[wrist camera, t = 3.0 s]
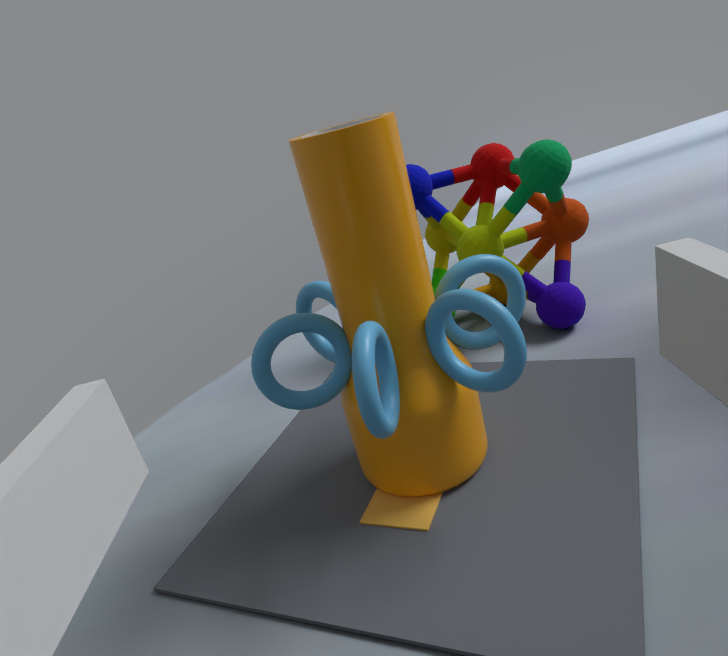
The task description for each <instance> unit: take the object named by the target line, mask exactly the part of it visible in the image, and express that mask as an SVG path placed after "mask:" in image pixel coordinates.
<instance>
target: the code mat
mask: <svg viewBox="0 0 728 656" xmlns="http://www.w3.org/2000/svg"><path fill="white" fill-rule="evenodd" d="M502 363H503V362H484V363H470V364H471V365H472V368H473V369H474V370H477V371H480V372H493V371H496V370H497V369H499V368H500V367H501V365H502ZM331 374H332V373H331ZM331 374H330V375H329V377H330V376H331ZM329 377H328V378H329ZM328 378H327V379H326V380H325V381H324V382H326V381H327V380H328ZM478 394H479V399H480V404H481V409H482V414H483V419H484V425H485V430H486V435H487V441H488V448H487V454H486V456H485V459H484V462H483V463H482V465H481V466H480V468H479V469H478V470H477V471H476V472H475V474H474V475H472V476H471V477H470V478H469V479H467V480H466V481H464V482H463V483H461V484H460V485H458V486H455V487H453V488H451V489H449V490H447V491H443V492H440V493H437V494H433V495H426V496H421V497H404V496H396V495H392V494H389V493H385V492H383V491H382V490H380V489H378V488H376V487H375V486H374V485H373V484H371V483H370V482H369V481H368V479H367V478H366V477H365V475H364V473H363V471H362V468H361V465H360V462H359V459H358V456H357V452H356V449H355V446H354V443H353V439H352V436H351V433H350V430H349V426H348V423H347V420H346V417H345V413H344V410H343V407H342V402H341V392H340V393H339V394H338V395H337V396H336V397H335V398H333V399H332V400H330V401H329V402H327V403H325V404H323V405H321V406H318V407H315V408H311V409H304V410H300V412H299V413H298V414H297V415H296V416H295V418H294V419H293V420H292V421H291V423H290V424H289V425H288V426H287V427H286V429H285V430H284V431H283V432H282V433H281V435H280V436H279V437H278V438H277V439H276V441H275V442H274V443H273V444H272V446H271V447H270V448H269V449H268V450H267V452H266V453H265V454H264V455H263V456H262V458H261V459H260V460H259V461H258V462H257V464H256V465H255V466H254V467H253V469H252V470H251V471H250V472H249V473H248V475H247V476H246V477H245V478H244V479H243V481H242V482H241V483H240V484H239V485H238V487H237V488H236V489H235V490H234V492H233V493H232V494H231V495H230V496H229V498H228V499H227V500H226V501H225V502H224V504H223V505H222V506H221V507H220V508H219V510H218V511H217V512H216V513H215V515H214V516H213V517H212V518H211V519H210V521H209V522H208V523H207V524H206V525H205V527H204V528H203V529H202V530H201V531H200V533H199V534H198V535H197V536H196V538H195V539H194V540H193V541H192V542H191V544H190V545H189V546H188V547H187V548H186V550H185V551H184V552H183V553H182V554H181V556H180V557H179V558H178V559H177V561H176V562H175V563H174V564H173V565H172V567H171V568H170V569H169V570H168V571H167V573H166V574H165V575H164V576H163V577H162V579H161V580H160V581H159V582H158V583H157V585H156V586H155V587H154V590H155V592H159V593H164V594H169V595H174V596H179V597H184V598H188V599H193V600H198V601H203V602H208V603H213V604H217V605H222V606H227V607H232V608H237V609H242V610H246V611H251V612H256V613H261V614H266V615H271V616H276V617H280V618H285V619H290V620H295V621H300V622H305V623H309V624H314V625H319V626H324V627H329V628H334V629H338V630H343V631H348V632H353V633H358V634H363V635H367V636H372V637H377V638H382V639H387V640H392V641H397V642H401V643H406V644H411V645H416V646H421V647H426V648H430V649H435V650H440V651H445V652H450V653H455V654H459V655H464V656H645V646H644V618H643V590H642V562H641V534H640V506H639V478H638V450H637V422H636V394H635V366H634V358H612V359H580V360H548V361H526V364H525V368H524V370H523V373H522V374H521V376H520V378H519V379H518V380H517V381H516V382H515V383H514V384H513V385H512V386H510V387H508V388H507V389H504V390H502V391H498V392H490V393H488V392H479V391H478Z"/></svg>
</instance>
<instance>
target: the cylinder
mask: <svg viewBox="0 0 728 656" xmlns="http://www.w3.org/2000/svg"><path fill="white" fill-rule="evenodd" d="M289 143H290V147H291V150H292V154H293V157H294V161H295V164H296V168H297V171H298V175H299V178H300V181H301V185H302V188H303V192H304V195H305V199H306V202H307V205H308V209H309V212H310V216H311V219H312V223H313V226H314V230H315V233H316V236H317V240H318V244H319V247H320V251H321V254H322V257H323V261H324V264H325V268H326V271H327V275H328V278H329V282H330V283H328V282H324V281H313V282H310V283H308V284H306V285H305V286H304V287H303V288H302V289H301V290H300V292H299V294H298V296H297V300H296V314H292V315H289V316H286V317H283V318H281V319H279V320H277V321H276V322H275V323H273V324H272V325H270V326H269V327H268V328H267V329H266V330H265V331H264V332H263V333H262V335H261V336H260V338H259V339H258V341H257V343H256V345H255V347H254V351H253V354H252V361H251V367H252V374H253V377H254V380H255V383H256V385H257V386H258V388H259V390H260V391H261V392H262V393H263V394H264V395H265V396H266V397H267V398H268V399H269V400H270V401H272V402H274V403H275V404H277V405H279V406H282V407H285V408H289V409H296V410H304V409H311V408H315V407H318V406H321V405H323V404H325V403H327V402H329V401H330V400H332V399H333V398H335V397H336V396H337V395H338V394H339V393H340V392H341V402H342V407H343V410H344V413H345V417H346V420H347V423H348V426H349V430H350V433H351V436H352V439H353V443H354V446H355V449H356V452H357V456H358V459H359V462H360V465H361V468H362V471H363V473H364V475H365V477H366V478H367V479H368V481H369V482H370V483H371V484H373V485H374V486H375V487H376V488H378V489H380V490H382V491H383V492H385V493H389V494H392V495H396V496H404V497H421V496H426V495H433V494H437V493H440V492H443V491H447V490H449V489H451V488H453V487H455V486H458V485H460V484H461V483H463V482H464V481H466V480H467V479H469V478H470V477H471V476H472V475H474V474H475V472H476V471H477V470H478V469H479V468H480V466H481V465H482V463H483V462H484V459H485V456H486V454H487V448H488V441H487V435H486V430H485V425H484V419H483V414H482V409H481V404H480V399H479V394H478V391H479V392H488V393H490V392H498V391H502V390H504V389H507V388H508V387H510V386H512V385H513V384H514V383H515V382H516V381H517V380H518V379H519V378H520V376H521V374H522V373H523V370H524V368H525V364H526V359H527V349H526V342H525V338H524V335H523V333H522V330H521V328H520V326H519V324H518V322H519V320H520V318H521V316H522V314H523V311H524V307H525V301H526V291H525V285H524V282H523V279H522V277H521V275H520V273H519V271H518V270H517V269H516V268H515V267H514V266H513V265H512V264H511V263H510V262H509V261H507V260H506V259H504V258H502V257H499V256H496V255H490V254H479V255H474V256H470V257H468V258H465V259H463V260H461V261H460V262H458V263H456V264H455V265H454V266H453V267H451V268H450V269H449V270H448V271H447V272H446V274H445V275H444V276H443V278H442V279H441V281H440V282H439V284H438V287H437V289H436V292H435V295H434V292H433V287H432V283H431V278H430V274H429V269H428V265H427V260H426V255H425V251H424V246H423V242H422V237H421V233H420V228H419V223H418V219H417V214H416V210H415V205H414V200H413V196H412V191H411V187H410V182H409V177H408V173H407V168H406V163H405V159H404V154H403V150H402V145H401V140H400V136H399V131H398V127H397V122H396V117H395V113H394V112H389V113H383V114H379V115H375V116H370V117H366V118H362V119H358V120H354V121H350V122H347V123H343V124H339V125H336V126H332V127H329V128H325V129H322V130H318V131H315V132H312V133H308V134H305V135H302V136H299V137H296V138H293V139H291V140H289ZM484 272H486V273H492V274H494V275H496V276H498V277H499V278H500V279H501V280H502V281H503V282H504V284H505V286H506V289H507V294H508V299H507V305H506V308H505V307H504V306H503V305H502V304H501V303H500V302H498V301H497V300H496V299H494V298H492V297H491V296H489V295H487V294H485V293H482V292H479V291H476V290H471V289H457V288H458V287H459V285H460V284H461V283H462V282H463V281H464V280H466V279H467V278H468V277H470V276H472V275H474V274H477V273H484ZM317 297H320V298H323V299H325V300H327V301H329V302H330V303H331V304H332V305H333V306H334V307H335V308H336V309H337V310H338V313H339V317H340V321H341V324H342V328H343V329H342V328H341V327H340V326H339V325H338V324H337V323H336V322H334V321H333V320H331V319H329V318H327V317H325V316H322V315H318V314H313V313H312V302H313V300H314V299H315V298H317ZM457 310H468V311H471V312H474V313H476V314H478V315H480V316H482V317H483V318H484V319H486V320H487V321H488V322H489V323H490V324H491V325H492V326H491V327H489V328H488V329H485V330H483V331H479V332H470V331H466V330H464V329H462V328H460V327H459V326H458V325H457V324H456V323H455V321H454V319H453V316H452V312H454V311H457ZM300 332H303V334H304V336H305V337H306V339H307V341H308V342H309V343H310V345H311V346H312V347H313V348H314V349H315V350H316V351H317V352H318V353H319V354H320V355H322V356H323V357H325V358H326V359H328V360H330V361H332V362H335V367H334V370H333V372H332V374H331V376H330V377H329V378H328V380H327V381H326V382H324V383H323V384H322V385H320V386H319V387H317V388H315V389H312V390H308V391H293V390H290V389H287V388H285V387H283V386H282V385H280V384H279V383H278V382H277V381H276V379H275V378H274V376H273V374H272V371H271V357H272V354H273V352H274V350H275V348H276V347H277V345H278V344H279V343H280V342H281V341H282V340H284V339H285V338H287V337H288V336H290V335H293V334H295V333H300ZM500 341H502V343H503V347H504V361H503V363H502V365H501V367H500V368H499V369H497V370H496V371H493V372H480V371H477V370H474V369H473V368H472V365H471V364H470V362H469V360H468V359H467V358H466V357H465V355H464V354H463V353H462V352H461V351H460V350H459V349H458V348H457V346H459V347H462V348H466V349H482V348H486V347H490V346H492V345H494V344H496V343H498V342H500Z"/></svg>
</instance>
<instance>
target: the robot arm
mask: <svg viewBox="0 0 728 656" xmlns="http://www.w3.org/2000/svg"><path fill="white" fill-rule="evenodd" d="M655 258H656V279H657V300H658V322H659V343H660V354H661V355H663V356H664V357H665V358H666V359H668V360H669V361H670V362H671V363H673V364H674V365H675V366H677V367H678V368H679V369H680V370H682V371H683V372H684V373H685V374H687V375H688V376H689V377H691V378H692V379H693V380H694V381H696V382H697V383H698V384H699V385H701V386H702V387H703V388H704V389H706V390H707V391H708V392H710V393H711V394H712V395H713V396H715V397H716V398H717V399H718V400H720V401H721V402H722V403H723V404H725V405H726V406H727V407H728V252H725V251H723V250H720V249H717V248H715V247H712V246H710V245H707V244H705V243H702V242H699V241H697V240H694V239H692V238H685V239H681V240H676V241H672V242H668V243H664V244H660V245H656V246H655ZM148 472H149V471H148V469H147V467H146V465H145V463H144V461H143V458H142V456H141V454H140V452H139V450H138V448H137V446H136V444H135V442H134V439H133V437H132V435H131V433H130V431H129V429H128V427H127V425H126V423H125V420H124V418H123V416H122V414H121V412H120V410H119V408H118V406H117V403H116V401H115V399H114V397H113V395H112V393H111V391H110V389H109V387H108V384H107V382H106V380H105V379H102V380H97V381H93V382H89V383H85V384H81V385H77V386H74V387H73V388H72V389H71V390H70V391H69V392H68V393H67V395H66V396H65V397H64V398H63V399H62V400H61V401H60V402H59V403H58V404H57V405H56V406H55V407H54V408H53V409H52V411H50V413H49V414H48V415H47V416H46V417H45V418H44V419H43V420H42V421H41V422H40V423H39V424H38V425H37V426H36V427H35V429H34V430H33V431H32V432H31V433H30V434H29V435H28V436H27V437H26V438H25V439H24V440H23V441H22V442H21V443H20V445H18V447H17V448H16V449H15V450H14V451H13V452H12V453H11V454H10V455H9V456H8V457H7V458H6V459H5V460H4V461H3V462H2V463H1V465H0V656H52V655H53V653H54V652H55V650H56V648H57V646H58V644H59V642H60V640H61V638H62V636H63V634H64V632H65V631H66V629H67V627H68V625H69V623H70V621H71V619H72V617H73V615H74V613H75V611H76V610H77V608H78V606H79V604H80V602H81V600H82V598H83V596H84V594H85V592H86V590H87V588H88V587H89V585H90V583H91V581H92V579H93V577H94V575H95V573H96V571H97V569H98V567H99V566H100V564H101V562H102V560H103V558H104V556H105V554H106V552H107V550H108V548H109V546H110V545H111V543H112V541H113V539H114V537H115V535H116V533H117V531H118V529H119V527H120V525H121V523H122V522H123V520H124V518H125V516H126V514H127V512H128V510H129V508H130V506H131V504H132V502H133V501H134V499H135V497H136V495H137V493H138V491H139V489H140V487H141V485H142V483H143V481H144V480H145V478H146V476H147V474H148Z"/></svg>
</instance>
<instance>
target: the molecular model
mask: <svg viewBox="0 0 728 656" xmlns="http://www.w3.org/2000/svg"><path fill="white" fill-rule="evenodd" d="M571 166H572V161H571V157H570V154H569V153H568V151H567V149H566V148H565V147H564V146H563V145H562V144H561V143H559V142H557V141H553V140H540V141H537V142H536V143H533V144H531V145H530V146H529V147H527V148H526V149H525V150H524V152H523V153H522V155H521V157H520V158H516V159H515V158H514V156H513V154H512V152H511V151H510V150H509V149H508V148H507V147H505V146H503V145H501V144H497V143H491V144H487V145H484V146H482V147H481V148H479V149H478V150H477V151H476V152H475V154H474V155H473V157H472V160H471V164H470V165H467V166H463V167H459V168H455V169H451V170H447V171H443V172H439V173H435V174H431V175H429V174H428V172H427V171H426V170H425V169H423V168H422V167H420V166H418V165H412V164H408V165H406V168H407V173H408V177H409V182H410V187H411V191H412V196H413V200H414V205H415V210H417V209H418V210H419V212H420V213H421V214H422V215H423V217H424V218H425V219H426V221H427V222H428V225H427V228H426V232H425V238H426V240H427V243H428V245H429V246H430V248H432V249H433V250H434V251H436V256H435V263H434V270H433V277H432V287H433V292H434V295H435V292H436V289H437V287H438V284H439V282H440V281H441V279H442V278H443V276H444V275H445V274H446V272H447V267H448V260H449V253H452V252H455V251H457V256H458V258H459V261H461V260H463V259H465V258H468V257H470V256H474V255H479V254H490V255H496V256H499V257H502V258H504V259H506V260H507V261H509V262H510V263H511V264H512V265H513V266H514V267H515V268H516V269H517V270H518V271H519V273H520V275H521V277H522V279H523V282H524V285H525V291H526V299H527V300H530V301H532V302H534V303H536V311H537V314H538V316H539V318H540V319H541V320H542V321H543V323H545V324H546V325H548V326H550V327H552V328H557V329H564V328H568V327H570V326H572V325H574V324H576V323H578V322H579V320H580V319H581V318H582V317H583V314H584V311H585V306H586V303H585V298H584V296H583V294H582V292H581V291H580V290H579V288H577V287H576V286H574V285H572V284H570V266H571V242H574V241H576V240H578V239H579V238H580V237H581V236H582V235H584V233H585V231H586V229H587V227H588V222H589V216H588V213H587V210H586V208H585V207H584V205H583V204H581V203H580V202H579V201H577V200H575V199H569V198H565V197H564V194H563V191H562V188H561V186H562V185H563V184H564V182H565V181H566V179H567V178H568V176H569V174H570V171H571ZM517 175H519V176H517ZM471 179H473V180H474V181H473V183H472V184H471V186H470V187H469V189H468V190H467V192H466V193H465V195H464V196H463V197H462V198H461V200H460V201H459V203H458V204H457V206H456V207H455V209H454V210H453V212H452V213H450V212H449V211H448V210H447V209H446V208H445V207H443V206H442V205H441V204H440V203H439V202H437V201H436V200H435V199H434V198H433V197H432V196H431V195H432V191H433V189H437V188H441V187H445V186H448V185H452V184H456V183H460V182H464V181H468V180H471ZM503 185H505V186H506V187H507V188H509V189H510V190H511V191H512V192H514V193H513V194H512V195H511V197H510V198H509V199H508V201H507V202H506V203H505V204H504V206H503V207H502V208H501V210H500V211H499V212H498V214H497V215H496V216H495V217H494V219H493V220H492V217H493V210H494V203H495V196H496V190H497V188H500V187H502V186H503ZM541 193H545V194H546V197H547V198H546V197H545V196H544V195H542V194H541ZM479 197H480V202H479V208H478V215H477V222H476V226H473V227H471V228H468V227H466V226H465V225H464V224H463V222H462V221H463V219H464V218H465V217H466V215H467V214H468V212H469V211H470V209H471V208H472V207H473V206H474V205H475V203H476V202H477V200H478V199H479ZM526 203H528V204H530V205H531V206H532V207H533V208H535V209H536V210H537V211H539V212H540V213H541V214H543V215H542V218H541V221H540V222H537V223H533V224H530V225H527V226H524V227H521V228H518V229H515V230H512V231H509V232H505V233H503V232H504V230H505V229H506V228H507V227H508V225H509V224H510V223H511V222H512V220H513V219H514V218H515V217H516V215H517V214H518V213H519V212H520V210H521V209H522V208H523V207H524V205H525V204H526ZM539 237H541V238H540V239H539V241H538V242H537V243H536V244H535V246H534V247H533V248H532V249H531V250H530V251H529V252H528V253H527V254H526V256H525V257H524V258H523V259H522V260H521V262H520V263H519V264H518V265H516V264H515V263H513V262H512V261H510V260H509V259H508V258H506V257H505V256H503V253H504V249H506V248H509V247H512V246H515V245H518V244H521V243H524V242H527V241H530V240H533V239H536V238H539ZM555 243H556V245H555V264H554V282H553V283H552V284H550V285H548V286H546V285H545V284H543V283H542V282H540V281H539V280H537V279H536V278H535V277H533V276H532V275H530V274H529V273H530V271H531V270H532V269H533V268H534V267H535V266H536V264H537V263H538V262H539V261H540V260H541V259H542V258H543V257H544V256H545V255H546V254H547V252H548V251H549V250H550V249H551V248H552V247H553V245H554V244H555ZM484 273H485V274H486V275H487V276H489V277H490V283H489V284H488V285H485V286H482V287H479V288H475V289H472V290H476V291H479V292H482V293H485V294H487V295H489V296H491V297H494V298H495V299H496V300H497V301H498V302H500V303H502V304H505V305H507V299H508V294H507V289H506V286H505V284H504V282H503V281H502V280H501V279H500V278H499V277H498V276H496V275H494V274H492V273H486V272H484ZM464 282H465V280H464V281H463V282H462V283H461V284H460V285H459V287H458V288H457V289H459V288H460V287H461V285H462V284H463V283H464ZM455 312H456V311H454V312H452V316H453V318H454V315H455Z"/></svg>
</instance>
